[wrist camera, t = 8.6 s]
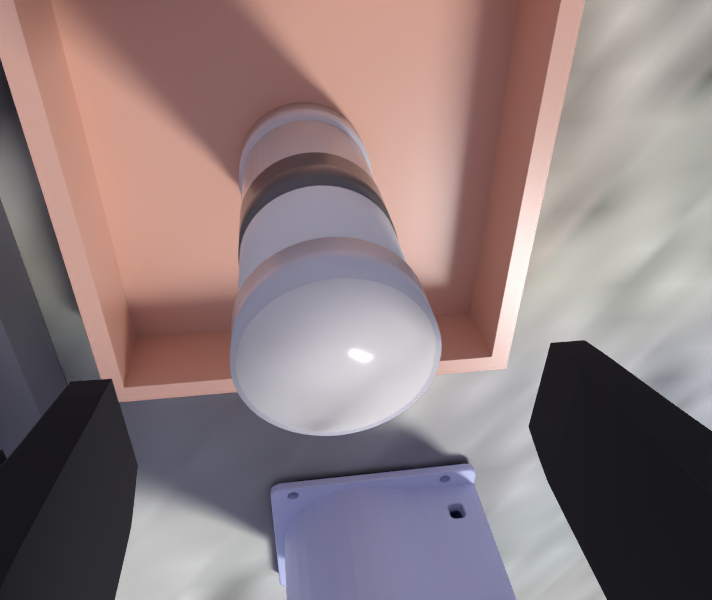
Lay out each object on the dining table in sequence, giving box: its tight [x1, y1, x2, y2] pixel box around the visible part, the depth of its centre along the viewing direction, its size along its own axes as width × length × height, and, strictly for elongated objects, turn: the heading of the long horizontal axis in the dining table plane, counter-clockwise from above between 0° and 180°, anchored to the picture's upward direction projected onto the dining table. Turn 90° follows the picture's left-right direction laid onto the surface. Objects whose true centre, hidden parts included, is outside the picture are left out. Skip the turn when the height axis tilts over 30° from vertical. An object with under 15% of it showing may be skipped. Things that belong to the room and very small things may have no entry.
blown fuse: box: [230, 102, 442, 436], centre depth 14 cm, size 4×4×9 cm
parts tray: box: [0, 0, 585, 402], centre depth 17 cm, size 13×13×3 cm
